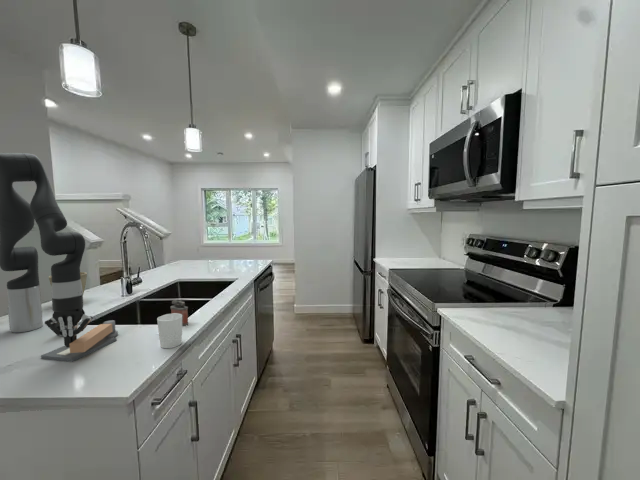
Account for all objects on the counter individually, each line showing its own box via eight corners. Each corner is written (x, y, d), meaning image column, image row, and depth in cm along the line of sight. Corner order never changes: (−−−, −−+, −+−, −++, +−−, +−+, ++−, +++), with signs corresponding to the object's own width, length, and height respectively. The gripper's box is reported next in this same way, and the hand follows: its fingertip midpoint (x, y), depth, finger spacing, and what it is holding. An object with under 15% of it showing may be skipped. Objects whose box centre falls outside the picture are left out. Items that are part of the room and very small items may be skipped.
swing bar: (106, 330, 113) (105, 320, 113) (117, 330, 114) (117, 319, 113) (70, 356, 93) (69, 343, 92) (84, 355, 93) (83, 342, 93)
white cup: (164, 340, 108) (163, 313, 107) (186, 339, 108) (185, 312, 108) (154, 350, 100) (152, 321, 99) (178, 349, 101) (177, 320, 100)
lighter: (190, 323, 124) (189, 300, 123) (184, 326, 121) (183, 302, 120) (175, 321, 127) (174, 298, 126) (169, 324, 123) (168, 301, 123)
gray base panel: (41, 358, 94) (41, 354, 94) (102, 332, 115) (102, 329, 115) (71, 361, 92) (71, 358, 92) (128, 334, 113) (128, 331, 113)
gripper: (34, 298, 90) (38, 353, 91) (83, 296, 92) (87, 349, 94) (51, 292, 97) (55, 343, 98) (97, 290, 99) (100, 340, 101)
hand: (71, 346), depth 96 cm, fingers closed
